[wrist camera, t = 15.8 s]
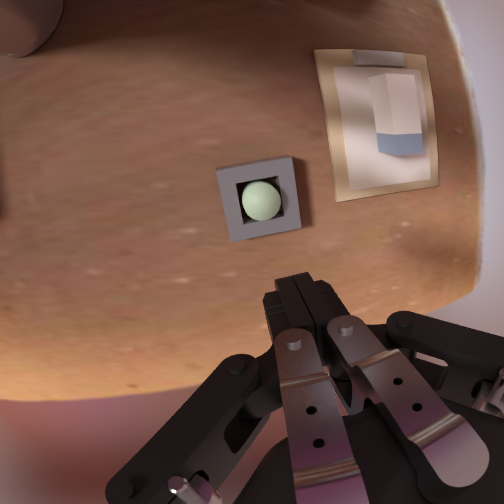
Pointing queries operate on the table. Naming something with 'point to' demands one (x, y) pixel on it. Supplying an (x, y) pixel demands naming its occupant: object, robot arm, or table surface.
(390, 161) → the clipboard
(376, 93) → the white carton blue base
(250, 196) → the button
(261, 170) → the button housing
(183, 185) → the table surface
